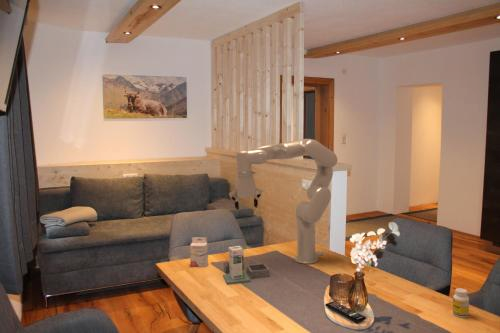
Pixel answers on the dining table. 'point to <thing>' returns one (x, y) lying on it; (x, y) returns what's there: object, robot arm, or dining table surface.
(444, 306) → the dining table surface
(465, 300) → the supplement bottle
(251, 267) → the frame
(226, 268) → the plunger housing
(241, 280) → the mat
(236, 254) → the syrup box
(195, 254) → the ink cartridge box
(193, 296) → the dining table surface
